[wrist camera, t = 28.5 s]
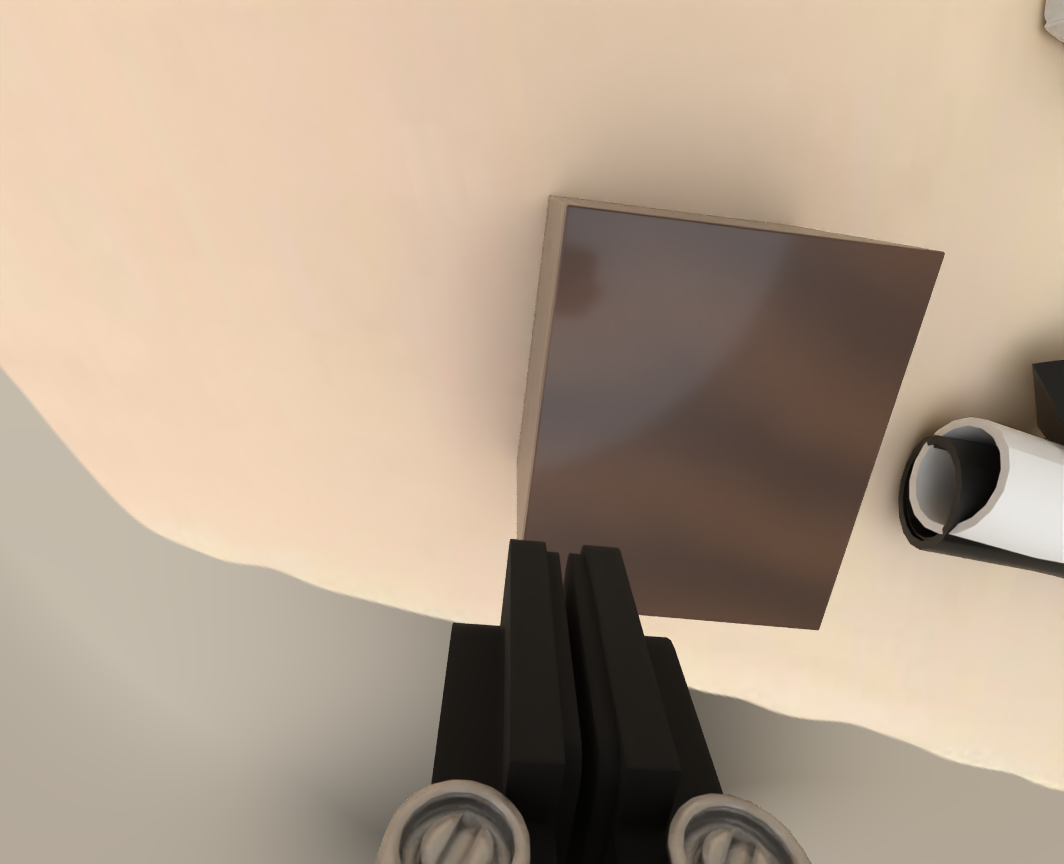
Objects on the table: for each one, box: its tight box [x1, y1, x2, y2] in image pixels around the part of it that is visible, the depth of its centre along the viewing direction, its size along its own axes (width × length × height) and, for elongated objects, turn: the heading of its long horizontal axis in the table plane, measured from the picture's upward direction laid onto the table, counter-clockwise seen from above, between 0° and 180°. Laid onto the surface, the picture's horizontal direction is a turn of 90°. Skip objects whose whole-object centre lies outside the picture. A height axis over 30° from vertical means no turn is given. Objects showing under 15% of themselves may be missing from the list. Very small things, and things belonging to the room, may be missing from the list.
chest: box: [517, 195, 924, 540], centre depth 32 cm, size 16×14×12 cm
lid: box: [522, 204, 945, 630], centre depth 26 cm, size 16×14×1 cm
